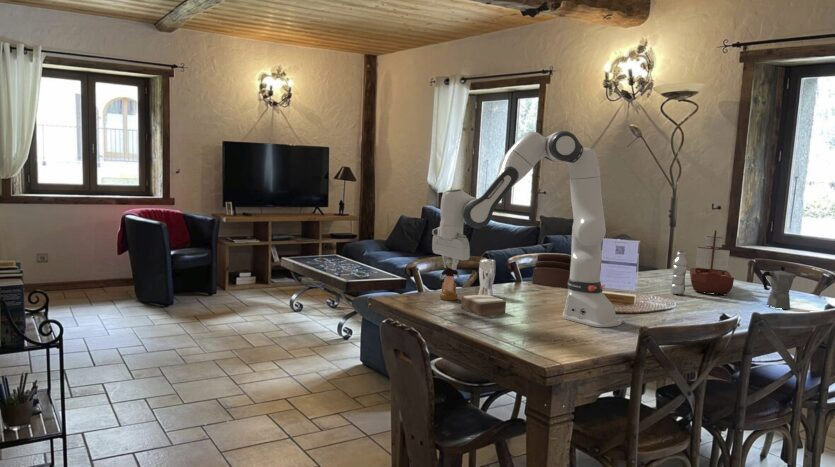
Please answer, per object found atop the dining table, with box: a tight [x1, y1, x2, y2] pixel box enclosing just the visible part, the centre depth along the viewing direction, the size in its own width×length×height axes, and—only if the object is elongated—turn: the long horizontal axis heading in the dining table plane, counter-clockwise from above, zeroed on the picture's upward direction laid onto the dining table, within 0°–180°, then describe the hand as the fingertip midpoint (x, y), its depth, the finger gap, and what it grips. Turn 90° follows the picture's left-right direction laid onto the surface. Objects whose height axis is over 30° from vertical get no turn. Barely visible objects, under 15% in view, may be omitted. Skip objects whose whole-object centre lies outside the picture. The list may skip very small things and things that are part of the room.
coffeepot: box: [761, 266, 798, 310], centre depth 277 cm, size 15×9×18 cm, turn 92°
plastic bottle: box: [670, 250, 689, 296], centre depth 295 cm, size 6×7×20 cm
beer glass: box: [478, 258, 496, 297], centre depth 274 cm, size 7×7×15 cm
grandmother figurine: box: [439, 258, 460, 293], centre depth 244 cm, size 8×4×13 cm, turn 116°
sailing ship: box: [689, 229, 735, 295], centre depth 312 cm, size 18×40×29 cm, turn 159°
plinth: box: [460, 294, 507, 317], centre depth 245 cm, size 12×12×5 cm
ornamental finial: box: [439, 281, 459, 302], centre depth 263 cm, size 8×8×8 cm
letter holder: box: [531, 253, 571, 289], centre depth 305 cm, size 10×20×14 cm, turn 69°
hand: (450, 268), depth 243 cm, fingers closed on grandmother figurine, 3 cm apart
